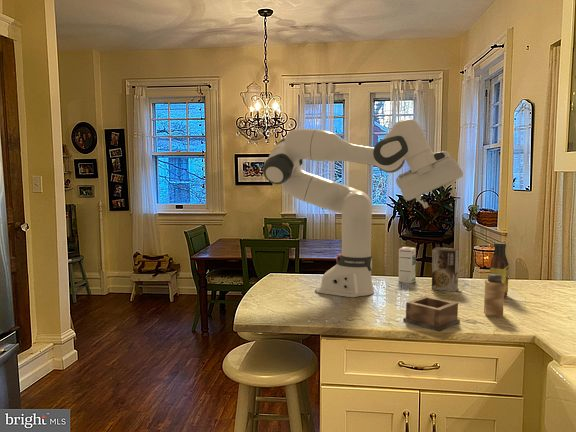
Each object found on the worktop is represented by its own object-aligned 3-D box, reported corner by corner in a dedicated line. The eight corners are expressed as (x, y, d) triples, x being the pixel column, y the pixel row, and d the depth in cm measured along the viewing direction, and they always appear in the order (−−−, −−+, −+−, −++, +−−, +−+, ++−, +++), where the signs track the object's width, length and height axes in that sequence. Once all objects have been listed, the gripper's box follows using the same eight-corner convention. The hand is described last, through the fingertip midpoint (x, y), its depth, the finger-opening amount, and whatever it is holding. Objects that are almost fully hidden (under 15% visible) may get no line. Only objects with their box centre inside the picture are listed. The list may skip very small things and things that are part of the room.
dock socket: (403, 321, 136) (403, 302, 136) (424, 313, 144) (424, 295, 144) (439, 331, 127) (440, 310, 127) (459, 322, 136) (460, 303, 135)
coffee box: (458, 288, 177) (459, 248, 176) (454, 292, 172) (456, 250, 171) (435, 285, 182) (436, 246, 181) (430, 288, 177) (432, 248, 175)
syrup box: (411, 283, 185) (412, 249, 184) (397, 282, 188) (398, 248, 187) (415, 281, 190) (416, 247, 189) (402, 279, 193) (402, 246, 192)
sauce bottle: (509, 297, 164) (512, 244, 162) (491, 297, 165) (493, 243, 163) (504, 293, 170) (507, 242, 168) (487, 292, 171) (489, 241, 170)
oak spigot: (485, 316, 142) (487, 276, 141) (484, 311, 147) (485, 273, 145) (502, 317, 140) (504, 277, 139) (500, 313, 145) (502, 274, 144)
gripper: (392, 176, 149) (409, 214, 147) (451, 148, 142) (470, 188, 139) (395, 178, 155) (411, 214, 153) (452, 151, 147) (470, 189, 145)
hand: (440, 201), depth 146 cm, fingers open, 8 cm apart
